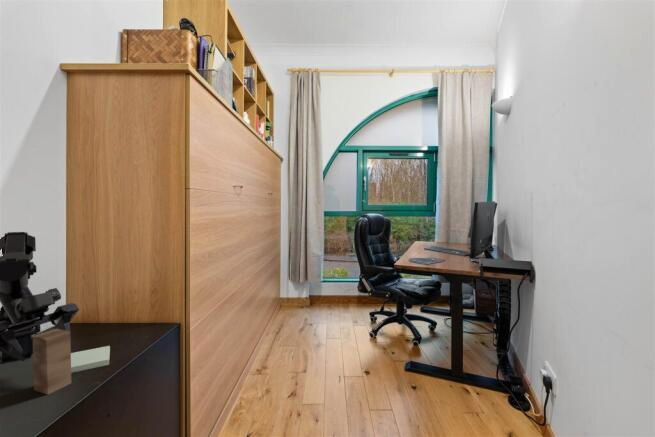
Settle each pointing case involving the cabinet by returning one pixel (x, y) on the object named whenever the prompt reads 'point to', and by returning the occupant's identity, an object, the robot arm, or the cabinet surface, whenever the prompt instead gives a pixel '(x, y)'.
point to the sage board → (90, 359)
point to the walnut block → (51, 360)
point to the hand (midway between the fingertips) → (48, 351)
